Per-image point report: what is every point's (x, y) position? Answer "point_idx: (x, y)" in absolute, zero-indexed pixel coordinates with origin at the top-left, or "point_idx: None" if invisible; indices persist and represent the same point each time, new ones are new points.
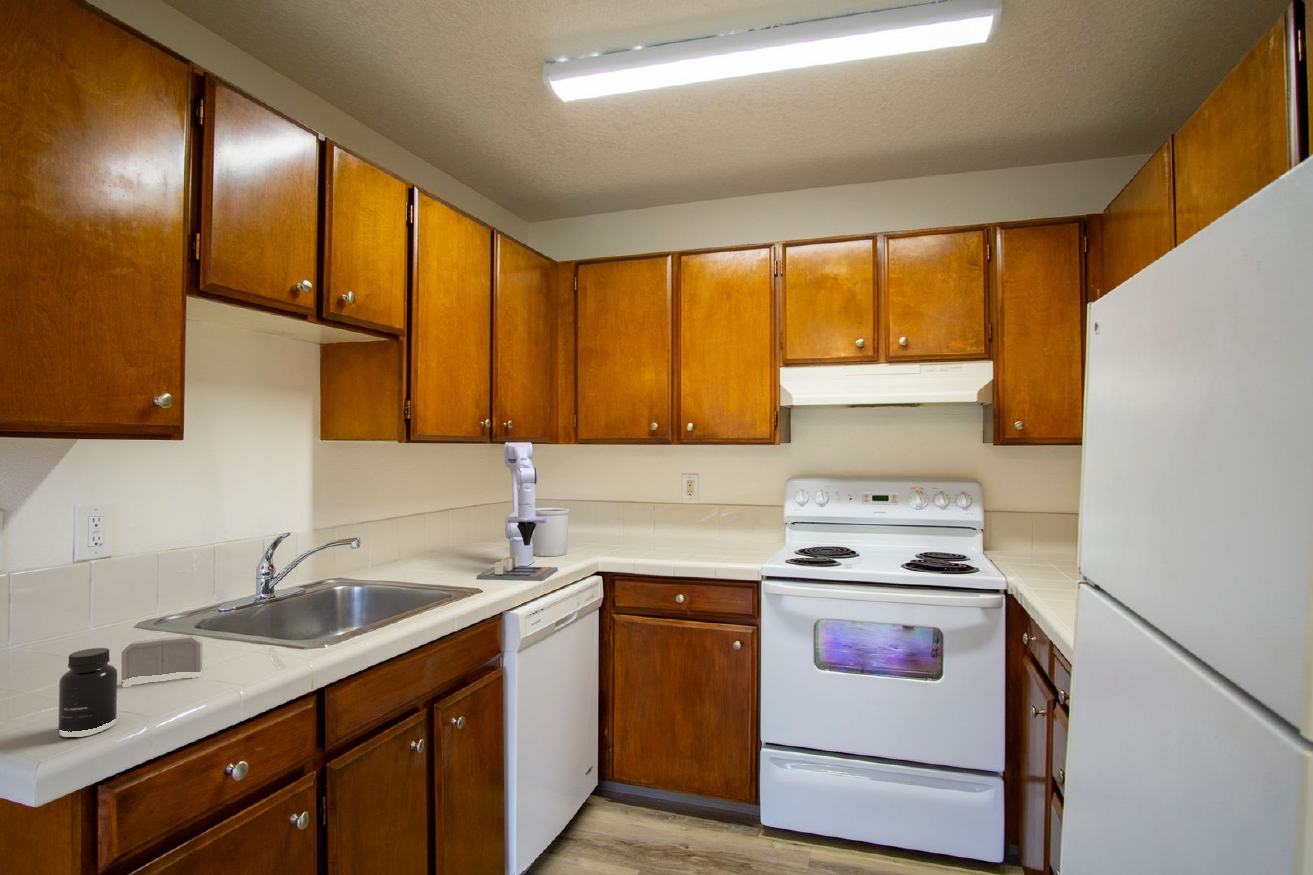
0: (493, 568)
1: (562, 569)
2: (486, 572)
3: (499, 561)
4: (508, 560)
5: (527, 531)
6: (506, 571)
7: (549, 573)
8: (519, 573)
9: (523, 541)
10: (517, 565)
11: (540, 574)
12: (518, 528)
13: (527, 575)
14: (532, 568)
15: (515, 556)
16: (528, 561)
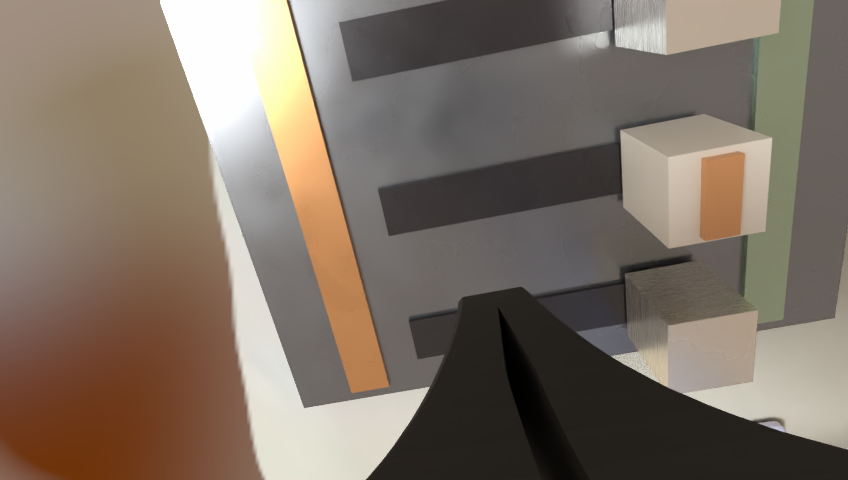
0: (824, 223)
1: (305, 436)
2: (837, 32)
3: (757, 34)
4: (674, 152)
5: (463, 442)
6: None
7: (234, 204)
8: (484, 90)
9: (542, 306)
10: (630, 325)
11: (260, 108)
12: (795, 437)
13: (353, 19)
14: None
15: (679, 354)
16: None
